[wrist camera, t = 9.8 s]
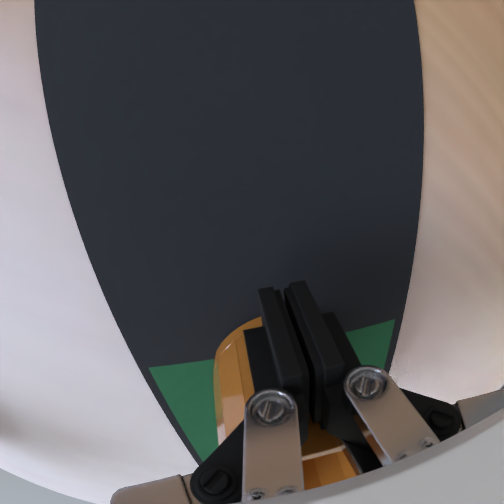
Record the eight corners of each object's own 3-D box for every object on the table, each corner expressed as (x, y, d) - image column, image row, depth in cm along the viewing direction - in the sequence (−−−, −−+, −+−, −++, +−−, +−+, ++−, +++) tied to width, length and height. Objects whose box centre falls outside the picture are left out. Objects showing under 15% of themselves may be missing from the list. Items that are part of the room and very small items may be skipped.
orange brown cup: (198, 325, 14) (206, 472, 8) (346, 296, 14) (417, 418, 8) (226, 408, 17) (241, 517, 11) (339, 383, 18) (379, 483, 12)
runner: (35, -36, 6) (34, -37, 6) (396, -70, 7) (397, -71, 6) (205, 474, 22) (205, 475, 22) (365, 440, 23) (366, 441, 23)
